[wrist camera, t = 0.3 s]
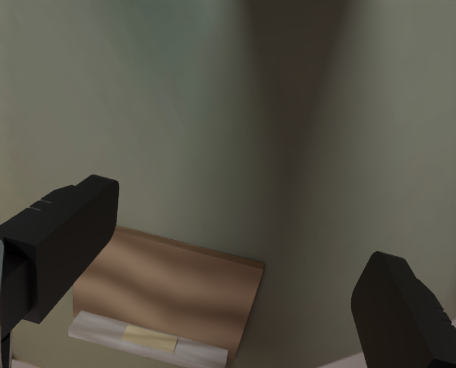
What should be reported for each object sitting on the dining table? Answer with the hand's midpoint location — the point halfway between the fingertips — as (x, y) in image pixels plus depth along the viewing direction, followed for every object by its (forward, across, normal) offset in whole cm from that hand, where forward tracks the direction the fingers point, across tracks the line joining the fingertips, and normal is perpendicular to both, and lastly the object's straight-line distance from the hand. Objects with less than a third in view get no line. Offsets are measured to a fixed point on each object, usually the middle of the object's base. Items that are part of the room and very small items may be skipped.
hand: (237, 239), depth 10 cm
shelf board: (+18, +6, +22) cm, 29 cm away
